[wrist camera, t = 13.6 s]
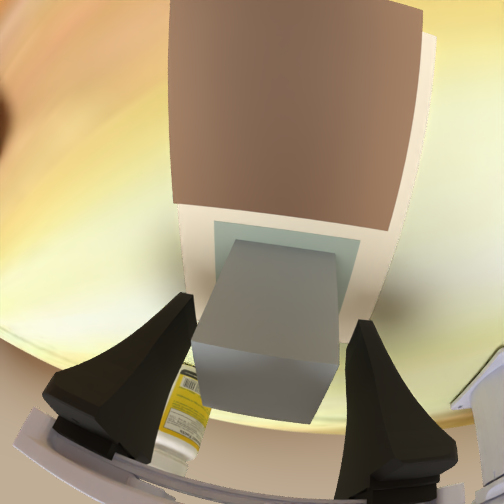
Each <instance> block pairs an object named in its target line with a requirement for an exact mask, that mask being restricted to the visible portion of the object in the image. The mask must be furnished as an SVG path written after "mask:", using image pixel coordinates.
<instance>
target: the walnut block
mask: <svg viewBox="0 0 504 504" xmlns="http://www.w3.org/2000/svg"><path fill="white" fill-rule="evenodd" d="M422 26H423V10H420V9H417V8H414V7H410V6H407V5H403V4H400V3H396V2H393V1H389V0H170V17H169V46H168V108H169V139H170V159H171V176H172V190H173V203H176V204H186V205H196V206H205V207H215V208H224V209H233V210H241V211H250V212H258V213H266V214H274V215H282V216H289V217H297V218H304V219H311V220H318V221H325V222H332V223H339V224H345V225H352V226H358V227H365V228H371V229H377V230H383V231H388V229H389V226H390V222H391V219H392V215H393V211H394V207H395V204H396V200H397V196H398V192H399V187H400V183H401V179H402V175H403V170H404V165H405V161H406V156H407V151H408V146H409V140H410V135H411V129H412V123H413V117H414V111H415V104H416V96H417V89H418V80H419V70H420V59H421V46H422Z"/></svg>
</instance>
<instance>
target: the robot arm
mask: <svg viewBox="0 0 504 504" xmlns="http://www.w3.org/2000/svg"><path fill="white" fill-rule="evenodd" d="M196 327H197V321H196V313H195V304H194V295H193V294H187V293H182V292H180V293H179V294H178V295H177V296H176V297H174V298H173V299H172V300H171V301H170V302H169V303H168V304H167V305H166V306H165V307H164V308H163V309H162V310H160V311H159V312H158V313H157V314H156V315H155V316H154V317H152V318H151V319H150V320H149V321H148V322H147V323H145V324H144V325H143V326H142V327H140V328H139V329H138V330H137V331H135V332H134V333H133V334H132V335H130V336H129V337H127V338H126V339H125V340H123V341H122V342H120V343H119V344H117V345H115V346H114V347H112V348H110V349H109V350H107V351H105V352H103V353H102V354H100V355H98V356H96V357H94V358H92V359H90V360H88V361H86V362H83V363H81V364H79V365H76V366H73V367H71V368H68V369H65V370H62V371H59V372H56V373H55V374H54V376H53V377H52V379H51V380H50V382H49V383H48V385H47V387H46V388H45V390H44V391H43V393H42V396H43V398H44V400H45V401H46V402H47V403H48V404H49V405H50V407H51V408H52V409H53V410H54V411H55V412H56V413H57V414H58V415H59V416H58V418H57V420H56V419H54V418H53V417H52V416H50V415H49V414H47V413H45V412H44V411H42V410H41V409H39V408H37V407H36V406H35V407H33V408H32V411H31V412H30V414H29V416H28V417H27V419H26V421H25V422H24V424H23V426H22V428H21V429H20V432H19V433H18V435H17V437H16V439H15V441H14V442H13V446H14V447H15V448H17V449H18V450H19V451H20V452H22V453H23V454H24V455H26V456H27V457H28V458H30V459H31V460H32V461H34V462H35V463H37V464H38V465H39V466H41V467H42V468H44V469H45V470H47V471H48V472H50V473H51V474H53V475H54V476H56V477H57V478H59V479H60V480H62V481H63V482H65V483H67V484H68V485H70V486H71V487H73V488H75V489H77V490H78V491H80V492H82V493H84V494H85V495H87V496H89V497H91V498H93V499H94V500H96V501H98V502H100V503H102V504H183V503H179V502H175V500H176V499H175V497H173V496H170V495H169V494H167V493H166V492H165V491H164V490H163V489H160V488H158V487H155V486H153V485H151V484H148V483H146V482H144V481H141V480H140V479H142V480H145V481H147V482H150V483H153V484H156V485H159V486H162V487H165V488H168V489H171V490H174V491H177V492H181V493H184V494H187V495H191V496H195V497H198V498H202V499H206V500H210V501H214V502H219V503H224V504H465V492H464V483H458V484H454V485H449V486H445V487H440V488H437V487H436V483H438V482H439V481H440V474H441V473H443V472H445V471H446V470H448V469H450V468H452V467H453V466H455V464H456V463H457V462H458V455H457V447H456V442H455V440H454V439H452V438H451V437H450V436H449V435H448V434H447V433H446V432H445V431H444V430H442V429H441V428H440V427H439V426H438V425H437V424H436V422H435V421H434V420H433V419H432V418H431V417H430V416H429V415H428V414H427V412H426V411H425V410H424V409H423V408H422V406H421V405H420V404H419V403H418V402H417V400H416V399H415V397H414V396H413V395H412V393H411V392H410V390H409V389H408V387H407V386H406V384H405V383H404V381H403V380H402V378H401V376H400V375H399V373H398V371H397V369H396V368H395V366H394V364H393V362H392V360H391V358H390V356H389V355H388V353H387V351H386V349H385V347H384V345H383V343H382V340H381V338H380V336H379V334H378V332H377V330H376V328H375V326H374V323H373V322H372V321H371V320H361V319H358V322H357V324H356V327H355V329H354V332H353V334H352V337H351V339H350V342H349V344H348V346H347V349H346V363H345V377H346V398H347V425H346V435H345V444H344V451H343V458H342V463H341V469H340V475H339V479H338V484H337V488H336V492H335V496H334V500H326V499H306V498H293V497H283V496H274V495H266V494H259V493H253V492H247V491H241V490H236V489H231V488H226V487H221V486H217V485H213V484H208V483H204V482H201V481H197V480H193V479H189V478H185V477H182V476H179V475H176V474H172V473H169V472H166V471H163V470H160V469H157V468H154V467H151V466H149V465H147V464H149V463H151V460H152V455H153V451H154V446H155V442H156V438H157V434H158V430H159V426H160V422H161V419H162V416H163V412H164V409H165V406H166V403H167V399H168V396H169V393H170V391H171V388H172V386H173V383H174V381H175V379H176V377H177V375H178V372H179V370H180V368H181V366H182V364H183V362H184V360H185V357H186V355H187V353H188V351H189V349H190V347H191V339H192V337H193V334H194V332H195V330H196ZM450 407H451V409H452V410H456V409H467V408H472V412H473V417H474V422H475V427H476V433H477V439H478V445H479V453H480V460H481V468H482V479H483V487H484V488H482V489H480V490H478V491H476V492H475V496H476V499H475V500H474V501H473V502H472V503H471V504H504V347H503V348H501V349H499V350H498V351H497V352H496V354H495V355H494V356H493V357H492V359H491V360H490V361H489V362H488V364H487V365H486V366H485V367H484V368H483V370H482V371H481V372H480V373H479V374H478V376H477V377H476V378H475V379H474V380H473V381H472V382H471V383H470V385H469V386H468V387H467V388H466V389H465V390H464V391H463V392H462V393H461V394H460V395H459V396H458V397H457V398H456V400H455V401H454V402H453V403H452V404H451V405H450Z"/></svg>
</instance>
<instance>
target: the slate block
mask: <svg viewBox="0 0 504 504" xmlns="http://www.w3.org/2000/svg"><path fill="white" fill-rule="evenodd" d="M191 345H192V351H193V357H194V363H195V368H196V374H197V379H198V385H199V390H200V395H201V400H202V405H203V406H205V407H209V408H214V409H218V410H223V411H227V412H232V413H237V414H243V415H248V416H254V417H259V418H265V419H272V420H279V421H286V422H294V423H302V424H310V423H311V421H312V419H313V417H314V416H315V414H316V412H317V410H318V408H319V406H320V404H321V402H322V400H323V398H324V396H325V394H326V392H327V390H328V388H329V386H330V384H331V382H332V380H333V377H334V375H335V373H336V371H337V369H338V367H339V316H338V292H337V274H336V259H335V253H330V252H323V251H316V250H309V249H302V248H295V247H288V246H281V245H274V244H267V243H260V242H253V241H245V240H238V239H235V242H234V244H233V246H232V248H231V251H230V253H229V255H228V257H227V259H226V262H225V264H224V266H223V268H222V271H221V273H220V275H219V277H218V280H217V282H216V284H215V286H214V289H213V291H212V293H211V295H210V298H209V300H208V302H207V305H206V307H205V309H204V311H203V314H202V316H201V318H200V321H199V323H198V325H197V327H196V330H195V332H194V334H193V337H192V339H191Z"/></svg>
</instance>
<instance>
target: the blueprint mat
mask: <svg viewBox="0 0 504 504" xmlns="http://www.w3.org/2000/svg"><path fill="white" fill-rule="evenodd" d="M436 39H437V37H436V36H433V35H431V34H428V33H425V32H422V46H421V59H420V70H419V80H418V89H417V96H416V104H415V111H414V117H413V123H412V129H411V135H410V140H409V146H408V151H407V156H406V161H405V165H404V170H403V175H402V179H401V183H400V187H399V192H398V196H397V200H396V204H395V207H394V211H393V215H392V219H391V222H390V226H389V229H388V231H383V230H377V229H371V228H365V227H358V226H352V225H345V224H339V223H332V222H325V221H318V220H311V219H304V218H297V217H289V216H282V215H274V214H266V213H258V212H250V211H241V210H233V209H224V208H215V207H205V206H196V205H186V204H177V207H178V219H179V230H180V241H181V250H182V260H183V268H184V277H185V285H186V293H187V294H193V295H194V304H195V313H196V320H198V321H200V318H201V316H202V314H203V311H204V309H205V307H206V305H207V302H208V300H209V298H210V295H211V293H212V291H213V289H214V286H215V284H216V282H217V280H218V277H219V275H220V273H221V271H222V268H223V266H224V264H225V262H226V259H227V257H228V255H229V253H230V251H231V248H232V246H233V244H234V242H235V239H238V240H245V241H253V242H260V243H267V244H274V245H281V246H288V247H295V248H302V249H309V250H316V251H323V252H330V253H335V259H336V274H337V292H338V316H339V342H340V343H349V342H350V339H351V337H352V334H353V332H354V329H355V327H356V324H357V322H358V319H361V320H369V319H370V317H371V315H372V312H373V310H374V307H375V305H376V302H377V300H378V297H379V294H380V292H381V289H382V287H383V284H384V281H385V278H386V276H387V273H388V270H389V267H390V264H391V262H392V259H393V256H394V253H395V250H396V247H397V244H398V240H399V237H400V234H401V231H402V227H403V224H404V221H405V217H406V214H407V210H408V207H409V203H410V199H411V195H412V192H413V188H414V184H415V180H416V175H417V171H418V167H419V162H420V158H421V153H422V148H423V143H424V138H425V132H426V127H427V121H428V115H429V108H430V101H431V94H432V86H433V77H434V67H435V55H436Z"/></svg>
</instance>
